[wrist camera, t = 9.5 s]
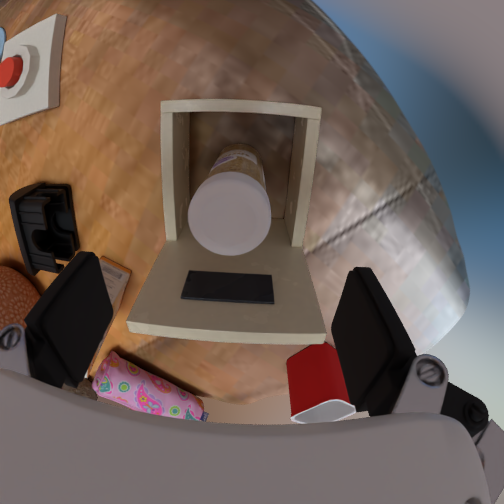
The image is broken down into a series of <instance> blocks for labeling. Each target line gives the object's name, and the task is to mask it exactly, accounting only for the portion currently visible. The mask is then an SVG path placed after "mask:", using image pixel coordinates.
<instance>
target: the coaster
mask: <svg viewBox="0 0 504 504" xmlns="http://www.w3.org/2000/svg"><path fill="white" fill-rule="evenodd" d="M5 42H6V32H5V30H4V29H3V28H2V27H0V60H1V58H2V55H3V50H4V43H5Z"/></svg>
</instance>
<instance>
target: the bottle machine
mask: <svg viewBox="0 0 504 504" xmlns="http://www.w3.org/2000/svg"><path fill="white" fill-rule="evenodd" d="M321 110H322V108H321V107H314V106H308V105H300V104H292V103H283V102H272V101H259V100H241V99H184V100H166V101H161V171H162V191H163V206H164V219H165V231H166V240H167V241H166V242H165V244H164V246H163V248H162V250H161V252H160V254H159V255H158V257H157V259H156V261H155V263H154V265H153V267H152V269H151V271H150V273H149V275H148V277H147V279H146V281H145V283H144V285H143V287H142V289H141V291H140V293H139V295H138V297H137V299H136V301H135V303H134V305H133V307H132V309H131V312H130V314H129V316H128V318H127V320H126V322H127V325H128V328H129V331H130V332H134V333H141V334H148V335H155V336H163V337H172V338H181V339H191V340H203V341H215V342H231V343H252V344H323V342H324V340H325V337H326V334H327V332H326V329H325V325H324V321H323V317H322V314H321V310H320V307H319V303H318V299H317V296H316V292H315V289H314V286H313V282H312V279H311V275H310V272H309V269H308V265H307V262H306V259H305V255H304V252H303V249H302V246H303V240H304V234H305V228H306V222H307V216H308V210H309V203H310V197H311V190H312V183H313V176H314V169H315V161H316V154H317V146H318V137H319V129H320V119H321ZM190 112H244V113H261V114H274V115H284V116H293V117H295V125H294V136H293V146H292V155H291V165H290V174H289V183H288V191H287V200H286V208H285V216H284V219H274V218H271V224H270V229H269V231H268V234H267V236H266V237H265V239H264V240H263V241H262V242H261V243H260V244H259V245H258V246H257V247H256V248H254V249H253V250H251V251H249V252H247V253H244V254H241V255H235V256H227V255H220V254H217V253H214V252H211V251H209V250H208V249H206V248H204V247H203V246H202V245H201V244H200V243H199V242H198V241H197V240H196V239H195V238H194V236H193V234H192V232H191V230H190V227H189V224H188V209H189V205H190V188H189V124H190Z"/></svg>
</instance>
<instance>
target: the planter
mask: <svg viewBox="0 0 504 504" xmlns="http://www.w3.org/2000/svg"><path fill="white" fill-rule="evenodd" d="M40 297H41V296H40V294H39V293H38V291H37V290H36V288H35V287H34V285H33V284H32V283H31V282H30V281H29V280H28V279H27V278H26V277H25V276H24V275H23V274H21V273H20V272H18V271H17V270H15V269H12V268H10V267H6V266H0V331H1V330H2V329H3V328H4V327H5V326H7V325H9V324H12V323H19V324H21V325H22V326H23V327H24V329H25V328H26V327H27V325H26V323H25V321H24V319H25V317H26V316H27V314H28V313H29V312H30V310H31V309H32V308H33V306H34V305H35V304H36V302H37V301H38V300H39V298H40Z"/></svg>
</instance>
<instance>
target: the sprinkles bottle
mask: <svg viewBox="0 0 504 504" xmlns="http://www.w3.org/2000/svg"><path fill="white" fill-rule="evenodd" d="M188 224H189V227H190V230H191V232H192V234H193V236H194V238H195V239H196V240H197V241H198V242H199V243H200V244H201V245H202V246H203V247H204V248H206V249H208V250H209V251H211V252H214V253H217V254H220V255H227V256H235V255H241V254H244V253H247V252H249V251H251V250H253V249H254V248H256V247H257V246H258V245H259V244H260V243H261V242H262V241H263V240H264V239H265V237H266V236H267V234H268V231H269V229H270V224H271V208H270V202H269V198H268V195H267V193H266V185H265V178H264V172H263V167H262V159H261V157H260V155H259V153H258V152H257V151H256V150H255V149H254V148H253V147H251V146H249V145H246V144H233V145H230V146H228V147H226V148H225V149H224V150H223V151H222V152H221V153H220V155H219V156H218V159H217V160H216V162H215V164H214V165H213V167H212V169H211V171H210V173H209V175H208V177H207V179H206V180H205V181H204V182H203V183H202V184H201V185H200V186H199V188H198V189H197V191H196V192H195V194H194V196H193V198H192V200H191V202H190V205H189V209H188Z"/></svg>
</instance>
